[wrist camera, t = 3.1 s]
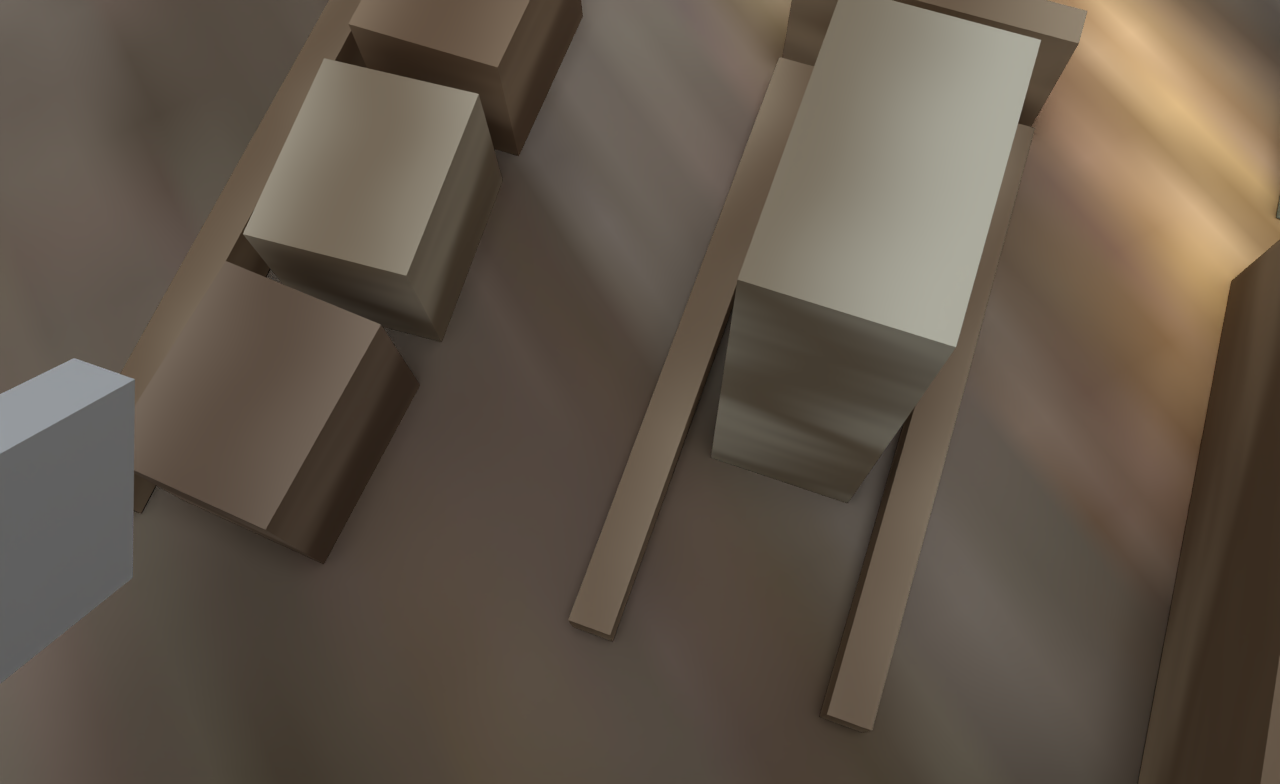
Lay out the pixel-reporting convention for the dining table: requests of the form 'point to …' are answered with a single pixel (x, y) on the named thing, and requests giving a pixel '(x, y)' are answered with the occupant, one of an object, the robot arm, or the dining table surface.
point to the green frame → (1279, 212)
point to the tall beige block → (868, 241)
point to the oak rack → (905, 423)
